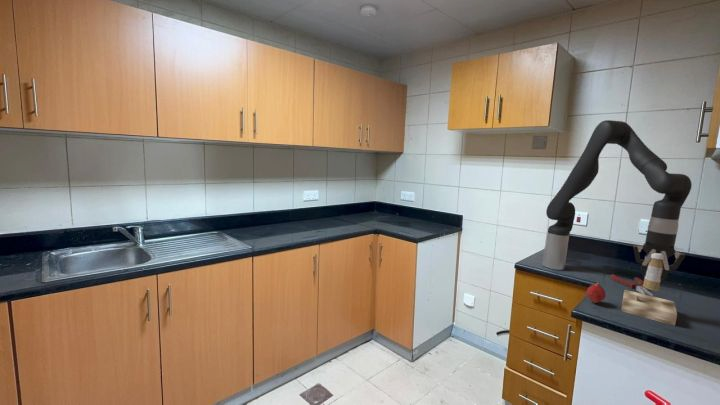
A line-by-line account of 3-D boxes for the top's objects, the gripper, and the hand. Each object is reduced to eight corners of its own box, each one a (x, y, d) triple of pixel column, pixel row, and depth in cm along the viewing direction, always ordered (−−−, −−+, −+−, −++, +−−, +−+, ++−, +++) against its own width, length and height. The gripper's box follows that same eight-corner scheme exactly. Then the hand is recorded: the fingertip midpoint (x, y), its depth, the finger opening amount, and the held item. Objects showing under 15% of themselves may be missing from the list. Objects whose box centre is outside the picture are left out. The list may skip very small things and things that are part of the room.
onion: (581, 299, 124) (584, 279, 123) (595, 299, 125) (598, 279, 123) (593, 306, 118) (596, 285, 117) (607, 306, 119) (611, 286, 118)
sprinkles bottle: (646, 285, 118) (652, 250, 116) (661, 290, 114) (669, 253, 112) (639, 286, 116) (646, 251, 114) (655, 291, 112) (662, 254, 110)
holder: (621, 311, 116) (623, 300, 115) (622, 299, 126) (624, 289, 126) (674, 325, 107) (677, 314, 106) (671, 311, 117) (673, 301, 116)
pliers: (632, 295, 131) (633, 289, 131) (608, 278, 151) (609, 273, 150) (665, 300, 128) (667, 294, 128) (637, 282, 148) (638, 276, 147)
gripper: (635, 228, 114) (626, 274, 116) (692, 236, 105) (682, 286, 107) (635, 225, 119) (627, 269, 122) (689, 233, 110) (679, 280, 113)
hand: (653, 277), depth 114 cm, fingers closed on sprinkles bottle, 4 cm apart
